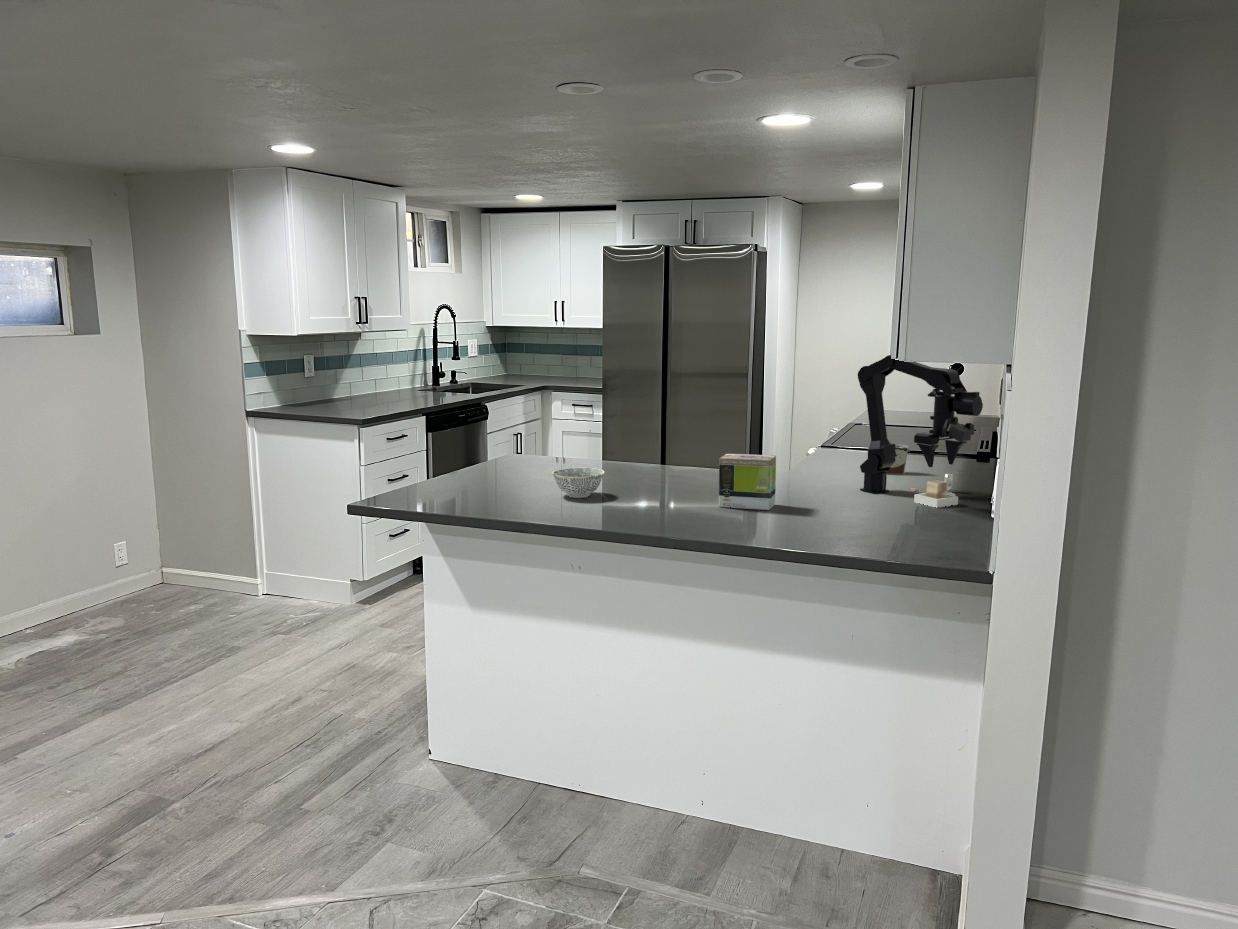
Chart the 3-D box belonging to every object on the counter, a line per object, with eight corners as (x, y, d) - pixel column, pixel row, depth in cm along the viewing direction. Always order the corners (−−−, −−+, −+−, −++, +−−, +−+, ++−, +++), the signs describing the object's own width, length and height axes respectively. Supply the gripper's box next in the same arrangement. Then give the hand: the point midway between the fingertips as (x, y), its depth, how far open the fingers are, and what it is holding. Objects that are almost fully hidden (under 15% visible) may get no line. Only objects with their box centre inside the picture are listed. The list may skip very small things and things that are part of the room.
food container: (904, 471, 318) (906, 443, 317) (908, 474, 312) (909, 446, 311) (868, 470, 320) (870, 442, 318) (871, 473, 314) (873, 445, 312)
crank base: (942, 500, 270) (942, 497, 270) (902, 491, 284) (902, 488, 284) (961, 497, 274) (961, 494, 274) (920, 488, 288) (921, 485, 288)
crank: (945, 494, 273) (946, 480, 273) (935, 493, 275) (936, 479, 274) (953, 487, 283) (954, 474, 282) (943, 486, 285) (944, 473, 284)
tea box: (775, 504, 265) (777, 454, 262) (769, 511, 256) (770, 460, 253) (725, 500, 270) (726, 451, 267) (717, 507, 261) (718, 457, 258)
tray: (936, 507, 260) (937, 499, 260) (914, 502, 268) (914, 494, 267) (957, 504, 264) (958, 496, 264) (934, 499, 272) (935, 491, 271)
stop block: (936, 503, 263) (937, 483, 262) (925, 501, 267) (927, 481, 266) (946, 502, 265) (947, 482, 264) (935, 499, 269) (936, 480, 268)
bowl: (549, 500, 269) (549, 476, 268) (555, 490, 285) (555, 466, 283) (603, 501, 268) (603, 476, 267) (605, 490, 284) (605, 467, 283)
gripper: (946, 417, 251) (943, 473, 253) (988, 413, 261) (984, 466, 263) (914, 413, 260) (911, 467, 263) (955, 410, 270) (952, 461, 273)
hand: (940, 465), depth 265 cm, fingers open, 9 cm apart
